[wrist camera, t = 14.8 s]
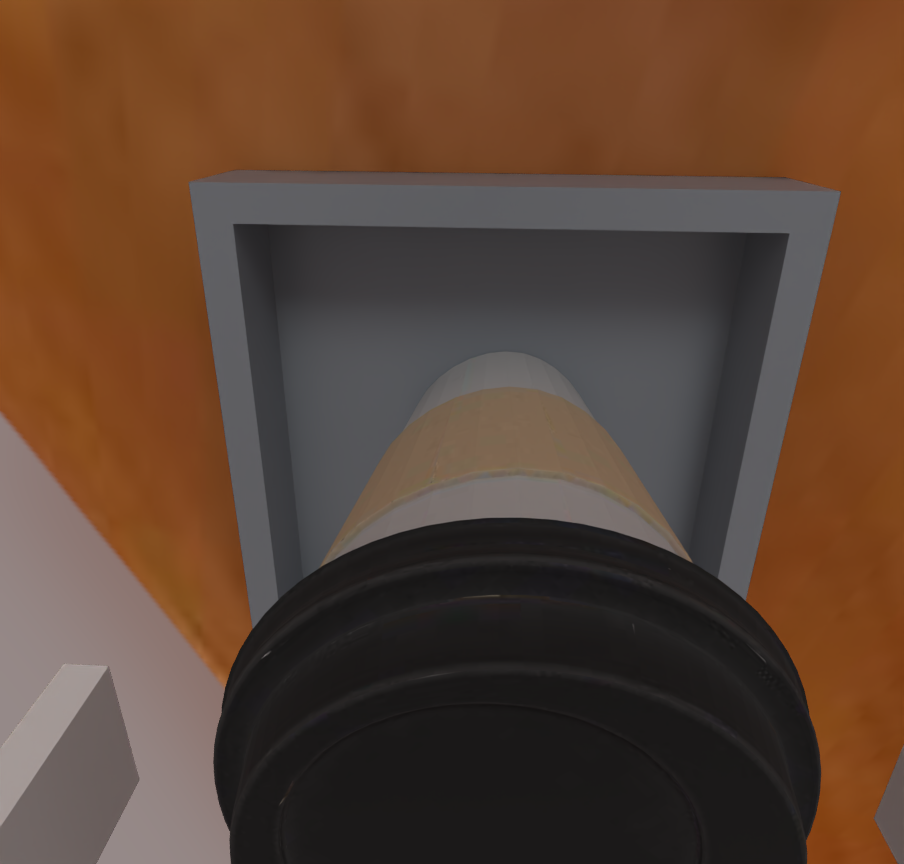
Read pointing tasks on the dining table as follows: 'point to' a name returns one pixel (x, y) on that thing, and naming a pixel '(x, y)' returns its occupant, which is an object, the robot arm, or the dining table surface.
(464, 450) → the coffee cup
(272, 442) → the tray
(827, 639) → the dining table surface
